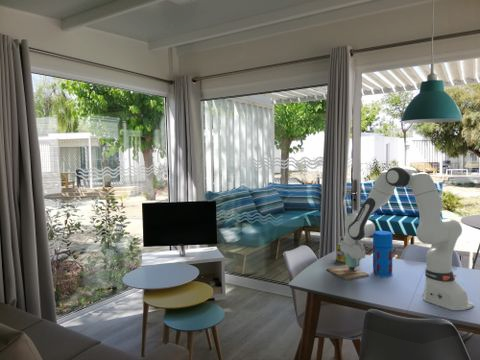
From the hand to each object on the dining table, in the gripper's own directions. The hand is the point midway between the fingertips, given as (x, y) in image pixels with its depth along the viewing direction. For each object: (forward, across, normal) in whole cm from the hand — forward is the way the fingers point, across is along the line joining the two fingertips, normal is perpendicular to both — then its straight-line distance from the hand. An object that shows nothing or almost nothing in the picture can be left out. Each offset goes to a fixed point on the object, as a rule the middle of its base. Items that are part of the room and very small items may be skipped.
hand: (352, 261), depth 228 cm
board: (+6, 0, +4) cm, 7 cm away
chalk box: (+7, +21, -10) cm, 24 cm away
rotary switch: (+2, 0, 0) cm, 2 cm away
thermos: (+6, -10, -14) cm, 18 cm away
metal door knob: (+5, 0, 0) cm, 5 cm away
